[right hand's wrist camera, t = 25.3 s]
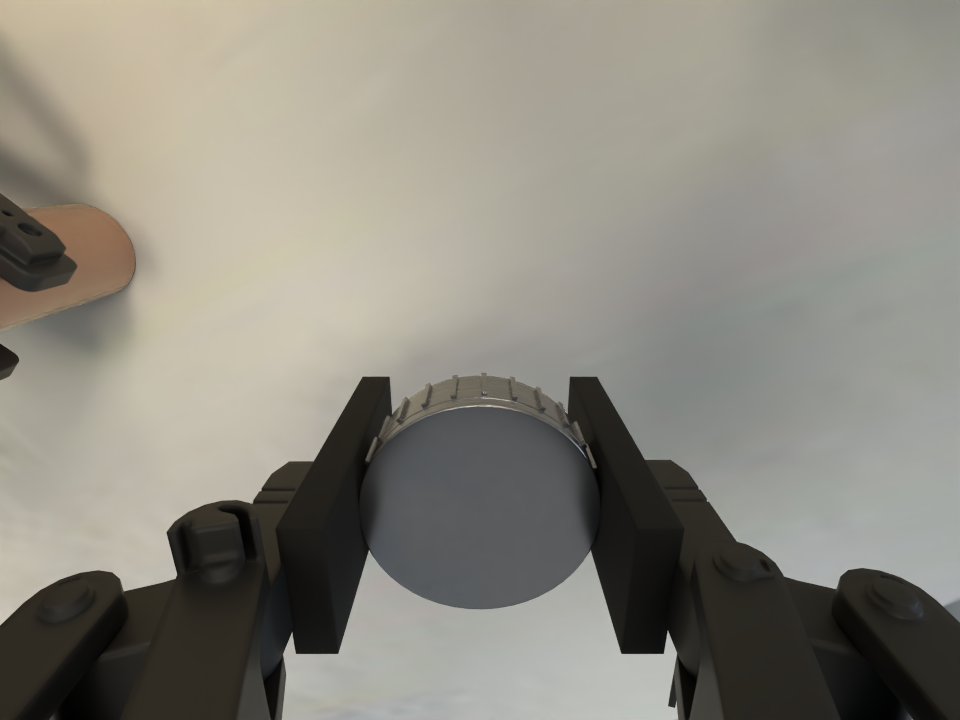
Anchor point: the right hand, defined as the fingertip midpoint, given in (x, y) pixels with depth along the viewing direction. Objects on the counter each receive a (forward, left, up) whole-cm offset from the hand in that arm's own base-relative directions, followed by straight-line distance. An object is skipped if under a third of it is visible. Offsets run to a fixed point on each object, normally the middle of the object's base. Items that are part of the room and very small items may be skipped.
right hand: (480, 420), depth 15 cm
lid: (0, 0, +4) cm, 4 cm away
